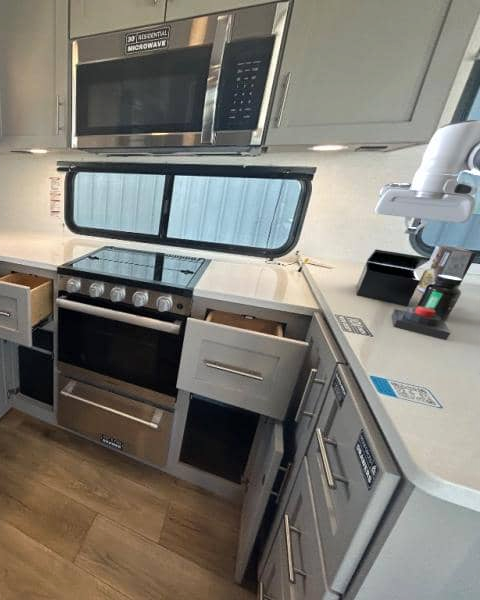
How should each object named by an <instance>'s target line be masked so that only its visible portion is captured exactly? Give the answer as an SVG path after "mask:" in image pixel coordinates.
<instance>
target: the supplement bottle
mask: <svg viewBox="0 0 480 600" xmlns="http://www.w3.org/2000/svg"><path fill="white" fill-rule="evenodd" d="M435 281H436V282H435V283H432V284H429V285H428V286H427V287H426V289H425V291H424V292H422V295H421V296H420V297H421V298H420V299H419V301H418V303H417V305H416V306H415V309H416V308H417V306H421V307H427V308H430V309H433V310H435V311H436V312H435V314H436V315H438V316H440V318H441V320H444V321H447V320H448V318H449V316H450V315H451V313H452V311H453V309H454V308H455V305H456V304H457V302H458V301H459V299H460V297H461V295H462V290H461V289H460V288H458V286H459V287H460V286H461V283H463V280H462V279H460V278H457V277H453V276H448V275H438V276H437V278H436V279H435Z"/></svg>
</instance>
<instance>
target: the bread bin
mask: <svg viewBox="0 0 480 600" xmlns="http://www.w3.org/2000/svg"><path fill="white" fill-rule="evenodd" d="M419 282H420V278H419V276H418V274H417V272H416V269H415V270H414V269H408V268H402V267H397V266H391V265H385V264H380V263H374V262H368V261H366V262H365V264H364V267H363V269H362V272H361V274H360V277H359V279H358V281H357V284H356V295H355V296H358V297H362V298H366V299H371V300H375V301H380V302H383V303H388V304H393V305H397V306H401V307H406V308H407V307H408V306H409V304H410V302H411V300H412V298H413V296H414V294H415V292H416V290H417V286H418V284H419Z"/></svg>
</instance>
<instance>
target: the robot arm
mask: <svg viewBox="0 0 480 600" xmlns="http://www.w3.org/2000/svg"><path fill="white" fill-rule="evenodd" d="M463 172H466V173H470V174H472V175H476V176H480V120H478V119H470V120H469V119H468V120H462V121H455V122H451V123H447V124H444V125H443V126H441V127H440V128H438V129H437V130H436V131H435V132H434V134H433V135H432V137H431V139H430V141H429V142H428V145H427V146H426V148H425V151H424V153H423V155H422V161H421V163H420V166H419V168H418V169H417V170H416V171H415V174H414V176H413V177H412V180H411V183H406V182H405V183H404V182H403V183H402V182H401V183H400V182H399V183H398V182H390V183H387V184H385V185H384V186H382V187H381V190H380V192H379V197H380V199H379V200H378V202H377V204H376V205H375V208H374V212H375V214H377V215H382V216H383V215H384V216H391V217H392V216H393V217H402V218H403V223H404V230H403V232H402V233H403V234H409V235H418V233H419V231H420V229H422V228H423V227H425V226H426V225H427V224H428V223H429V221H436V222H447V223H455V224H465V223H466V222H469V220H470V219H471V217H472V214H473V213H474V209H475V205H476V198H475V197H474V195H475V194H476V193H477V192H478V187H477V186H475V185H471V184H469V183H466V182H464V181H459V177H460V175H461V173H463ZM412 219H419V220H420V222H419V223H420V224H418V226H416V227H411V226H410V225H409V222H411V221H412Z"/></svg>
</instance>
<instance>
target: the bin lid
mask: <svg viewBox="0 0 480 600" xmlns="http://www.w3.org/2000/svg"><path fill="white" fill-rule="evenodd" d="M430 258H431V257H429V256H421V255H414V254H408V253H402V252H395V251H389V250H383V249H374V250H373V252H372V253H371V254H370V256H369V257H368V258H367V259H366V262H372V263H378V264H384V265H390V266H395V267H401V268H407V269H412V270H415V271H416V269H418V268H419V267H421V266H423V265H424V264H426V263H428V262H429V260H430Z"/></svg>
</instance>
